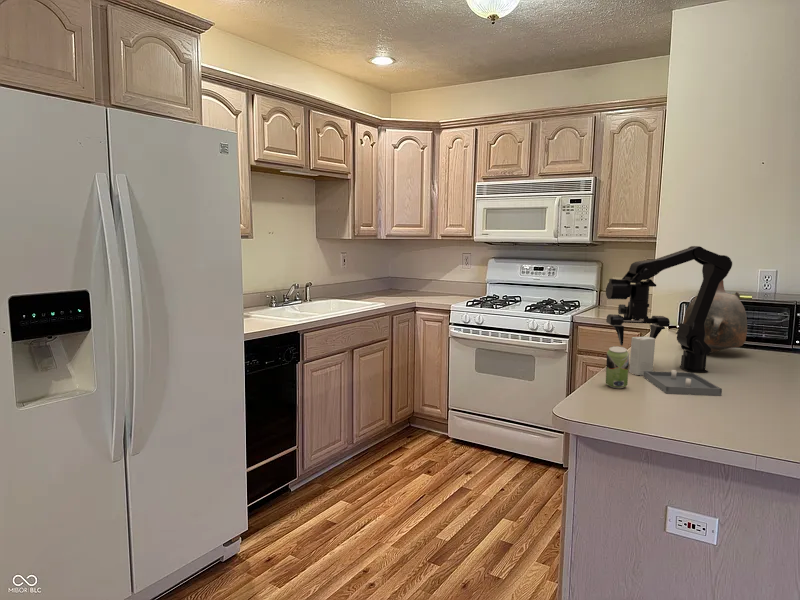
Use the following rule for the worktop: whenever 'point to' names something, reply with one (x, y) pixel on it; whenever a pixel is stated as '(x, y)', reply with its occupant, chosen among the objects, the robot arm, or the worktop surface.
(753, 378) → the worktop surface
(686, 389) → the tray
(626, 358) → the beverage can
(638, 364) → the skincare box
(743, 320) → the jug
